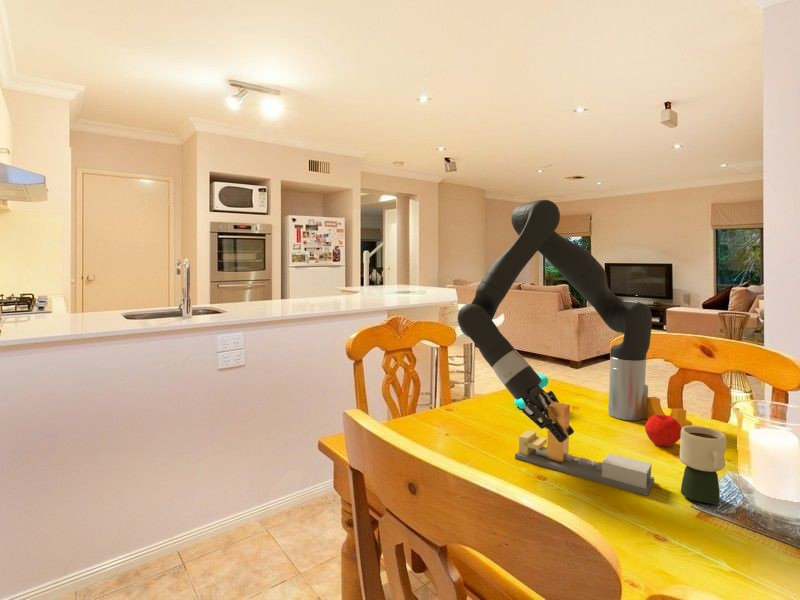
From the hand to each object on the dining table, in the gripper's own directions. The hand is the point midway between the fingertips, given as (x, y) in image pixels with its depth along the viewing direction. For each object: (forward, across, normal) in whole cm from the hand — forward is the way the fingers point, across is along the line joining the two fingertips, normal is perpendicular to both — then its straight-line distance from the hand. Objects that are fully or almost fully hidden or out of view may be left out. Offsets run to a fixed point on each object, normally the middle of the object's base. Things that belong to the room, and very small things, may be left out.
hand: (567, 437), depth 99 cm
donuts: (-11, +34, +21) cm, 41 cm away
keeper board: (+7, 0, +2) cm, 7 cm away
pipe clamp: (+14, +42, -5) cm, 44 cm away
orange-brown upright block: (+5, 0, +3) cm, 5 cm away
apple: (+15, +26, -6) cm, 30 cm away
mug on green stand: (+22, +2, -12) cm, 25 cm away
